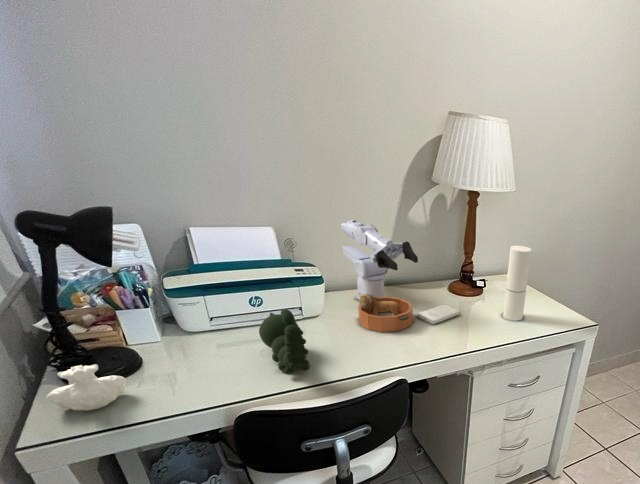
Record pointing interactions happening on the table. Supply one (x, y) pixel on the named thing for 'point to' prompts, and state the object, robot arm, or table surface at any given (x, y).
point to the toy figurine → (285, 341)
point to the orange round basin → (387, 317)
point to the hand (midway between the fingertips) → (406, 263)
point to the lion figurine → (378, 305)
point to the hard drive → (438, 314)
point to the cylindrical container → (516, 282)
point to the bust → (86, 389)
